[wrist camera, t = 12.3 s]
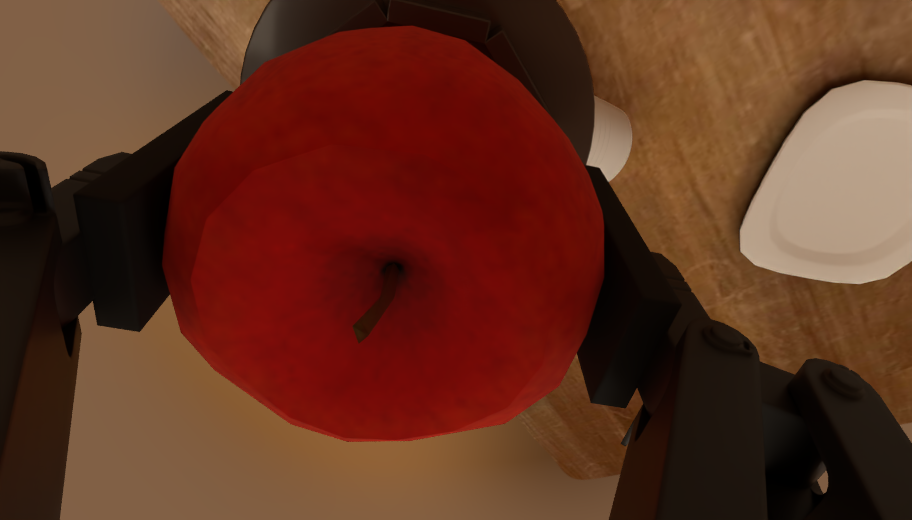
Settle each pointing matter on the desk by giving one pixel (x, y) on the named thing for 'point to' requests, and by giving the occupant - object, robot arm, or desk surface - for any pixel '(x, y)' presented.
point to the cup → (610, 139)
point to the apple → (384, 239)
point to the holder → (465, 17)
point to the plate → (838, 189)
